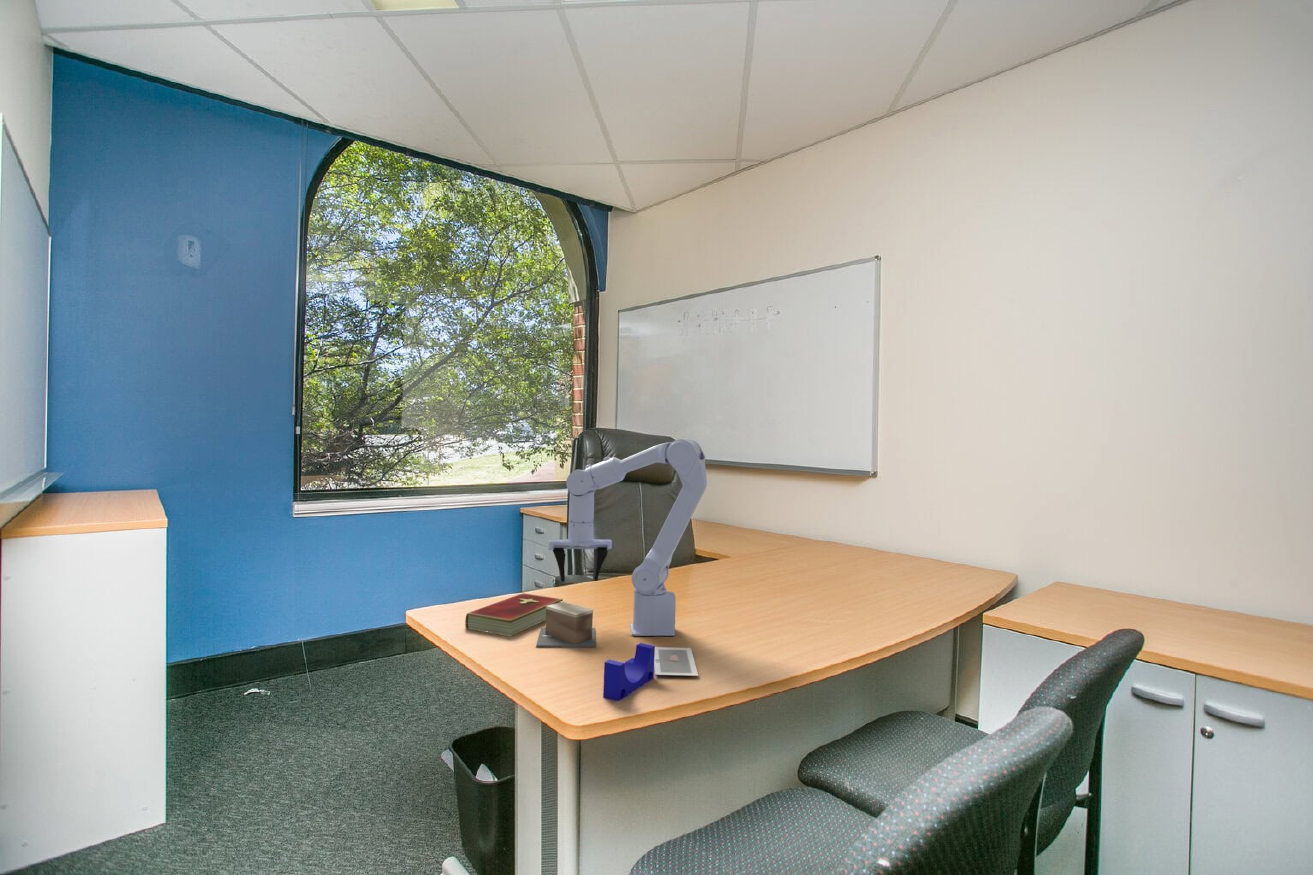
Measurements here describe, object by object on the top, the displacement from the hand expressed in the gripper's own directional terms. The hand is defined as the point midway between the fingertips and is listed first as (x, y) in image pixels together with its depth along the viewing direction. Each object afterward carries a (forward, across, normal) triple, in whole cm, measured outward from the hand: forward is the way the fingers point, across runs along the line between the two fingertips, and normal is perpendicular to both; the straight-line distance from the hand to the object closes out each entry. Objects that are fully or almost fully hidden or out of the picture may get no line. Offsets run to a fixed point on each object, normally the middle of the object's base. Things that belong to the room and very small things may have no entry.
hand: (579, 580), depth 145 cm
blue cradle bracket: (+10, +3, -38) cm, 40 cm away
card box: (+9, -4, -11) cm, 15 cm away
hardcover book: (+11, -14, +4) cm, 18 cm away
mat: (+10, -4, -10) cm, 15 cm away
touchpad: (+11, +14, -29) cm, 34 cm away
